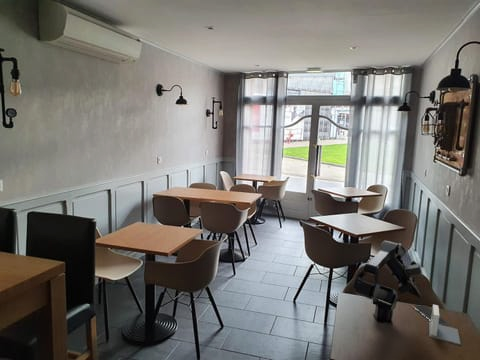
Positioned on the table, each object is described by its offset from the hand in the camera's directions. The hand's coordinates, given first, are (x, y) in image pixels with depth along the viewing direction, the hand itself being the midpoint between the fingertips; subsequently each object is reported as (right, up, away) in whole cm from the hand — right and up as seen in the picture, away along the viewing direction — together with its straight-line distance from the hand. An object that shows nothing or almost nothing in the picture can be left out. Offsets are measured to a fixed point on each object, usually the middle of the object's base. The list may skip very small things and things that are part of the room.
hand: (419, 296), depth 152 cm
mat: (+9, -15, -3) cm, 17 cm away
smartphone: (+11, -13, +12) cm, 21 cm away
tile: (+5, -14, -1) cm, 15 cm away
